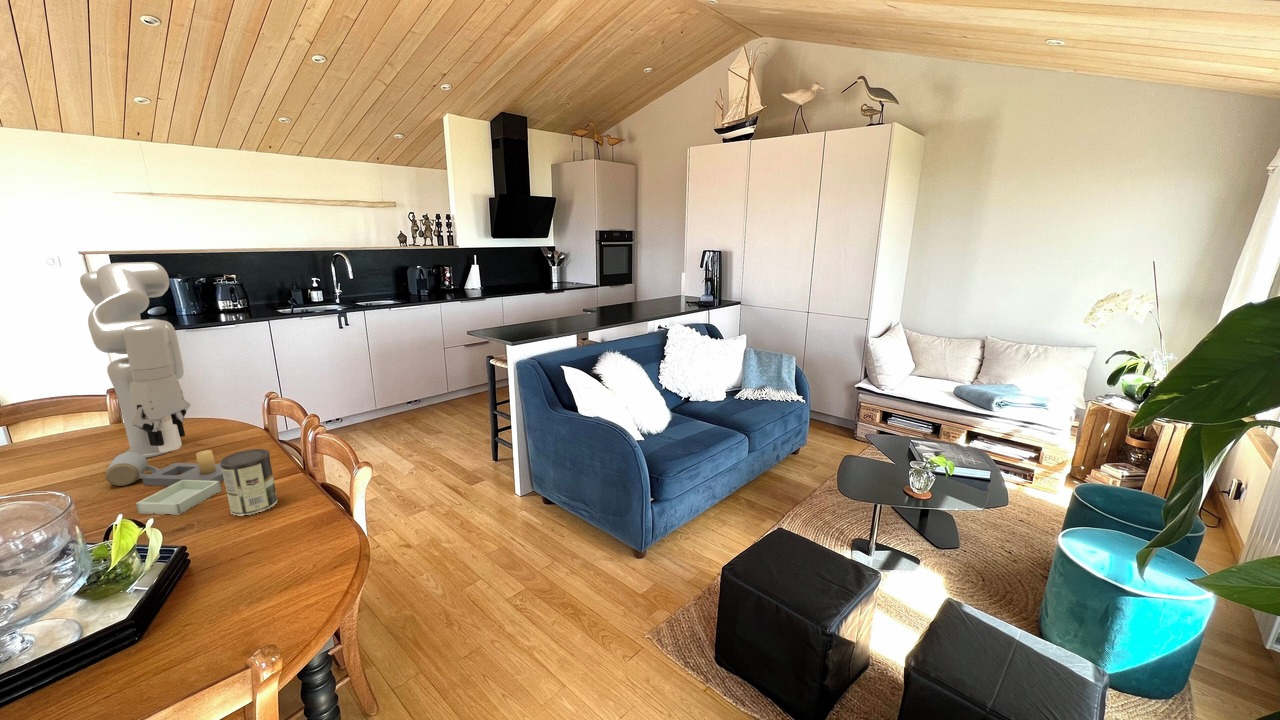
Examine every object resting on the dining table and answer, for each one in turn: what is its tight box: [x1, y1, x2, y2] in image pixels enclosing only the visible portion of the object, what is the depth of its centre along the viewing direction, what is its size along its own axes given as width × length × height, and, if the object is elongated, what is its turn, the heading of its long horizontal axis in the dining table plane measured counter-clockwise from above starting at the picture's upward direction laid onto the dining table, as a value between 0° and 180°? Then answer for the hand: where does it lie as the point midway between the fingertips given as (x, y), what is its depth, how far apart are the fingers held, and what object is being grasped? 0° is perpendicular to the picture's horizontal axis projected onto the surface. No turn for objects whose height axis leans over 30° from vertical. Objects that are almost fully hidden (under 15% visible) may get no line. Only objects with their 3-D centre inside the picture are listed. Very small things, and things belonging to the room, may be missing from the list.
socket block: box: [141, 449, 224, 487], centre depth 151 cm, size 10×20×8 cm, turn 87°
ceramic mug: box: [105, 451, 160, 487], centre depth 150 cm, size 11×8×8 cm
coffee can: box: [219, 448, 279, 517], centre depth 135 cm, size 10×10×14 cm
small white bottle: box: [158, 415, 183, 453], centre depth 134 cm, size 4×4×10 cm
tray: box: [135, 480, 223, 516], centre depth 139 cm, size 13×11×3 cm
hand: (168, 440), depth 135 cm, fingers closed on small white bottle, 5 cm apart
